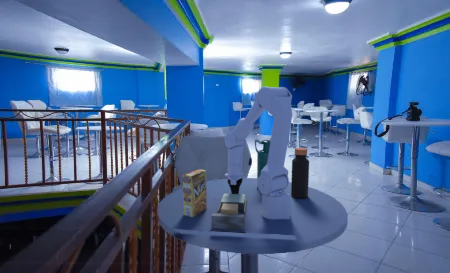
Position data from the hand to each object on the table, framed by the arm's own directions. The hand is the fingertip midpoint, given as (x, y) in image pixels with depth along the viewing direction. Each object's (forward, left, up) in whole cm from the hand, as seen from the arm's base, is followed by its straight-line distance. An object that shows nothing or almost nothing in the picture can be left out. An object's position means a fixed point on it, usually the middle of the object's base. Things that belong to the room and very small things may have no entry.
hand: (235, 197), depth 113 cm
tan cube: (0, +20, -1) cm, 20 cm away
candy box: (+13, +14, -2) cm, 19 cm away
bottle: (-26, -9, -2) cm, 28 cm away
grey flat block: (0, +7, -1) cm, 7 cm away
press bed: (0, +14, -2) cm, 14 cm away
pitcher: (-12, -18, -2) cm, 22 cm away
